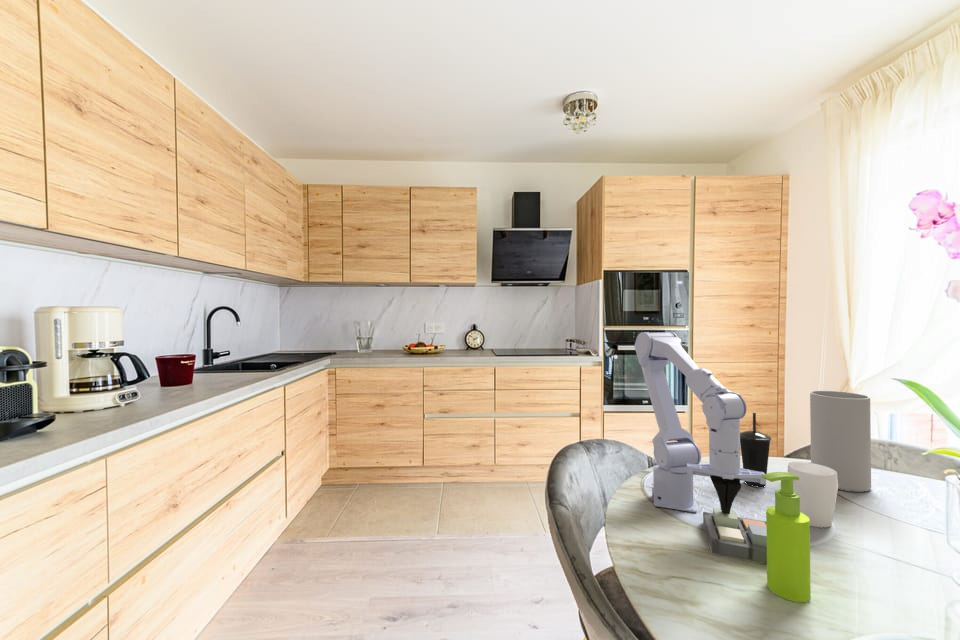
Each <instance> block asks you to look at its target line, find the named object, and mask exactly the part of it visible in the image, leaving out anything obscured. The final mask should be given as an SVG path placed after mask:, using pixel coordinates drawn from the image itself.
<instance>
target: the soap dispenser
mask: <svg viewBox="0 0 960 640" xmlns="http://www.w3.org/2000/svg"><path fill="white" fill-rule="evenodd" d="M762 477H763V478H765V479H766V481H768V482H771V483H773V482H778V481H780V488H779V489H777V490H775V492H774V506H769V507H767V508H766V511H765V512H766V513H765V514H766V515H765V516H766V519H765V521H766V526H767V564H766V586H767V587H768V588H769V590H770V591H771V592H773V594H775V595H776V596H778V597H780V598H783V599H784V598H785V600H787V601H790V600H791V602H794V601H795V602H794V603H807V602H806V601H808V602H809V601H810V600H811V593H812V592H811V527H810V526H811V525H810V519H809V517H808V516H806V515H805V514H803V513H801V512H800V496H799V495H798V494H796V493H795V492H793V480H799V476H796V475H794V474H792V473H789V472H788V471H784V472H783V471H774V472H767V474H764V475H762Z"/></svg>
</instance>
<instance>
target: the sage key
mask: <svg viewBox="0 0 960 640" xmlns="http://www.w3.org/2000/svg"><path fill="white" fill-rule="evenodd" d="M712 513H713V520H714V523H715V526H722V527H728V528H734V529H738V518H737V517H738V516H737V514H736V512H735V510H732V509H731V510H730V514H724V513H722V511H721V508H716V507H712Z"/></svg>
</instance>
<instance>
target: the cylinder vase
mask: <svg viewBox="0 0 960 640" xmlns="http://www.w3.org/2000/svg"><path fill="white" fill-rule="evenodd" d="M809 399H810V400H809V405H810V406H809V413H810V414H809V415H810V417H809V419H810V421H809V422H810V427H809V428H810V463H814V464H818V465H822V466H826V467H829V468H831V469H833V470H835V471H836V472H837V480H838V489H841V490H840V491H843V490H845V491H844V492H850V491H853V492H852V493H865V492H868V491H870V490H871V489H872V442H871V441H872V438H871V435H872V434H871V431H872V430H871V425H872V424H871V397H870V396H869V395H866V394H860V393H855V392H846V391H837V390H836V391H835V390H812V391H809ZM864 491H865V492H864Z"/></svg>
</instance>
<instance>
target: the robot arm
mask: <svg viewBox="0 0 960 640" xmlns="http://www.w3.org/2000/svg"><path fill="white" fill-rule="evenodd" d="M682 346H683V345H682V339H681V338H680V337H678V335H677V333H675V332H673V331H667V332H666V331H665V332H662V331H661V332H644V331H642V332H640V333H638V335H637V337H636V339H635V342H634V350H635V353H636V357H637V361H638V364H639V365H640V366H641V371H642V375H643V377H644V381H645V385H646V389H647V392H648V395H649V398H650V402H651V406H652V409H653V412H654V416H655V419H656V424H657V427H658V430H659V431H658V432H657V434H656V435H654V437H653V438H652V444H653V457H654V461H655V462H656V463H657V465H653V466H652V470H653V472H652V473H653V474H652V476H653V479H652V480H653V483H652V485H653V486H652V489H651V493H652V495H653V506H654V507H659V508H664V509H665V508H666V509H670V510H678V511H682V512H689V513H698V509H697V506H696V505H697V504H696V501H695V498H694V496H695V495H694V475H695V476H701V477H702V476H703V477H709V478H710V480H711V482H712V485H713V487H714V489H715V491H716V494H717V497H718V500H719V505H720V509H721V511H722V513H724V514H730V510H732V506H733V502H734V500H735V498H736V496H737V495H738V493H739V491H740V490H741V489H742V483H741V482H742V481H744V482H745V481H750V482H758V483H760V484H765V485H767V479H765V478H763V477H762V475H764V472H758V471H752V470H747V469H743V467H741V445H740V433H741V421H740V420H741V419H743V418H744V417H745V416H746V414H747V403H746V401H745V399H744V398H743V397H742V395H741V394H740V393H737V392H735V391H731V390H729V389H727V388H726V387H725V386H724V385H722V384H721V382H720V381H719V380H718V379H717V378H716V377H715V376H714V375H713V372H712V371H711V370H709V369H708V368H707V369H706V368H702V367H701V368H699V367H698V365H697V364H696V363H695V361H694V360H693V359H692V358H691V357H690V355H689V353H688V352H687V351H686V350H685V349H684V348H683V347H682ZM670 363H671V364H673V365H674V367H676V369H677V370H679V372H680V373H682V374H683V375H684V376H685V377H686V378H685V385H686V386H687V387H688V388H689V389H690V390H691V392H693V393H692V394H694V395H695V396H696V397H697V399H699V401H700V402H701V403H702V404H701V409H702V413H703V414H704V416H705V419H706V425H707V427H708V438H709V439H708V443H709V444H708V445H709V446H708V450H709V452H708V453H709V456H708V457H709V463H708V464H707V463H705V464H704V463H701V460H702V453H701V450H700V448H699V446H698V444H697V443H696V442H695V439H694V436H693V434H692V433H690V432H689V431H687V430H686V429H684V428H683V427H682V425H681V422H680V417H679V415H678V412H677V408H676V406H675V402H674V398H673V395H672V392H671V389H670V385H669V383H668V380H667V376H666V372H665V370H664V369H665V367H666V366H667V365H669V364H670ZM652 495H651V496H652Z"/></svg>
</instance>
